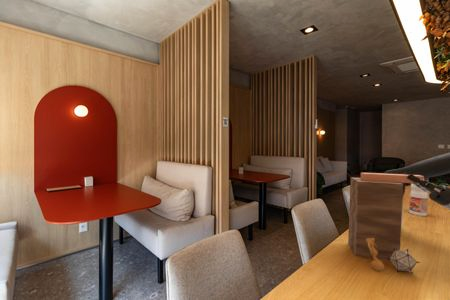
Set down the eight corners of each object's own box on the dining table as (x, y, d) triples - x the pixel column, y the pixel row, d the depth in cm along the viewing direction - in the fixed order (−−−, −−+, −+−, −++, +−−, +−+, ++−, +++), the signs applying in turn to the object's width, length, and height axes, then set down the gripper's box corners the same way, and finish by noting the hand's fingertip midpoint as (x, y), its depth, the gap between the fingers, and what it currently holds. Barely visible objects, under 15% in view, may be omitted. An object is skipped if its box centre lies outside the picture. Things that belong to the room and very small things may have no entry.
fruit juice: (429, 217, 148) (431, 175, 147) (411, 214, 152) (413, 174, 151) (424, 213, 156) (426, 173, 155) (407, 211, 161) (409, 172, 160)
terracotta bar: (360, 179, 101) (360, 172, 101) (418, 182, 95) (418, 175, 95) (363, 180, 98) (363, 173, 98) (423, 183, 92) (423, 176, 92)
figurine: (381, 277, 81) (383, 244, 80) (362, 270, 85) (363, 239, 84) (385, 268, 87) (387, 237, 86) (367, 262, 91) (368, 233, 91)
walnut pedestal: (348, 243, 107) (350, 177, 106) (386, 248, 103) (389, 179, 102) (355, 256, 96) (358, 181, 94) (399, 261, 91) (403, 184, 90)
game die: (395, 279, 86) (377, 254, 89) (408, 267, 89) (390, 243, 92) (417, 280, 78) (396, 252, 81) (430, 267, 81) (409, 241, 84)
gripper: (442, 187, 98) (403, 166, 101) (467, 194, 84) (421, 169, 87) (431, 201, 99) (392, 179, 102) (454, 210, 85) (409, 185, 89)
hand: (406, 175), depth 95 cm, fingers closed on terracotta bar, 3 cm apart
